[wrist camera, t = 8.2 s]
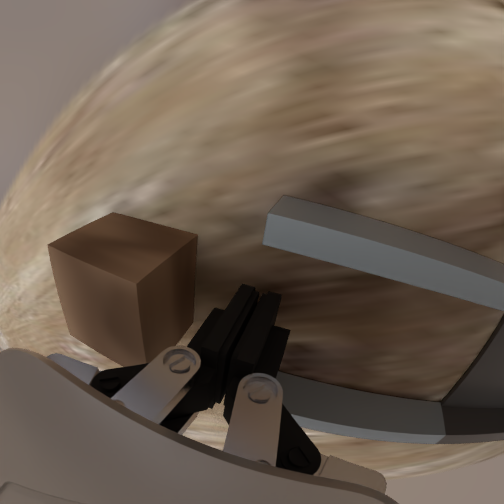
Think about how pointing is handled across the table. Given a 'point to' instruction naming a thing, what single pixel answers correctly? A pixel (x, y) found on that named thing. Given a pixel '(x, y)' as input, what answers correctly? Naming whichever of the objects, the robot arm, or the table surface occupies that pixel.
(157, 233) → the walnut block
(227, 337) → the robot arm
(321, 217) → the grey u-shaped bracket
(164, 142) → the table surface
